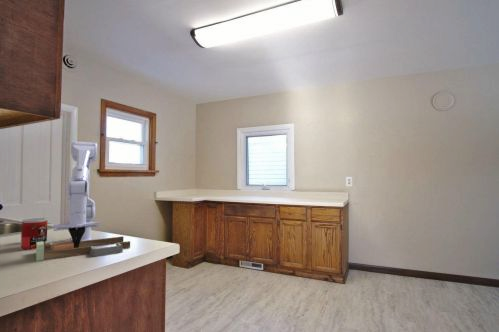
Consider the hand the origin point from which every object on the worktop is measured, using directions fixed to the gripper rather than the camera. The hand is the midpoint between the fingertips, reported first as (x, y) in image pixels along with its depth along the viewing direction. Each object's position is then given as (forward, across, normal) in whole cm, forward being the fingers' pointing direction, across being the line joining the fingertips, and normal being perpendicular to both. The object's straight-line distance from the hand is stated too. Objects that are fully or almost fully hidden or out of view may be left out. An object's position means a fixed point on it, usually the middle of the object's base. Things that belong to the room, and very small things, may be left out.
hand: (76, 247), depth 105 cm
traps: (+1, +3, 0) cm, 3 cm away
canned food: (+2, -13, +17) cm, 21 cm away
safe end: (+1, -11, 0) cm, 11 cm away
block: (+2, -4, -1) cm, 5 cm away
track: (+1, +4, 0) cm, 4 cm away
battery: (+2, -12, +28) cm, 31 cm away
